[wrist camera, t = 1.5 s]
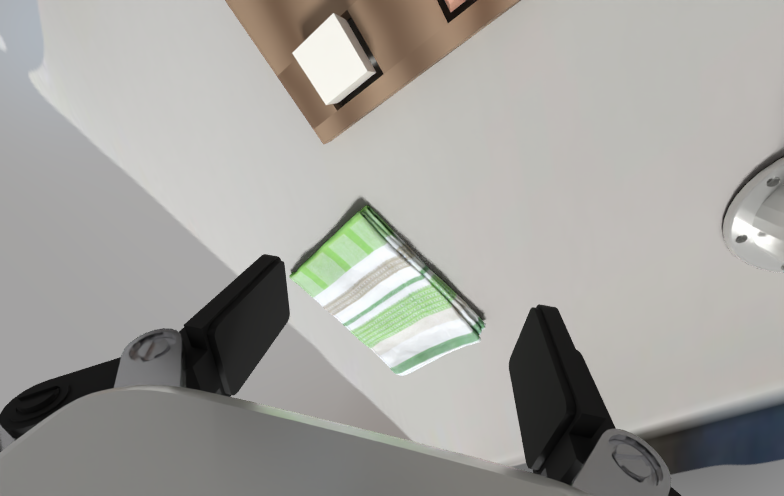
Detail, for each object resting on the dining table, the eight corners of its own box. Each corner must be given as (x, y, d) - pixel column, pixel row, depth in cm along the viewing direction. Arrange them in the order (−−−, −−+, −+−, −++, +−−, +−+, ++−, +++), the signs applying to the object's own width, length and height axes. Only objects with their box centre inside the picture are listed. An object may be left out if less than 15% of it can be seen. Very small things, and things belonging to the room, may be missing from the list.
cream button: (346, 19, 25) (333, 12, 23) (376, 72, 27) (367, 71, 24) (307, 55, 27) (291, 52, 25) (337, 103, 29) (325, 105, 26)
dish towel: (399, 367, 49) (396, 386, 46) (290, 273, 44) (278, 287, 41) (488, 320, 41) (491, 339, 38) (368, 199, 36) (359, 209, 33)
